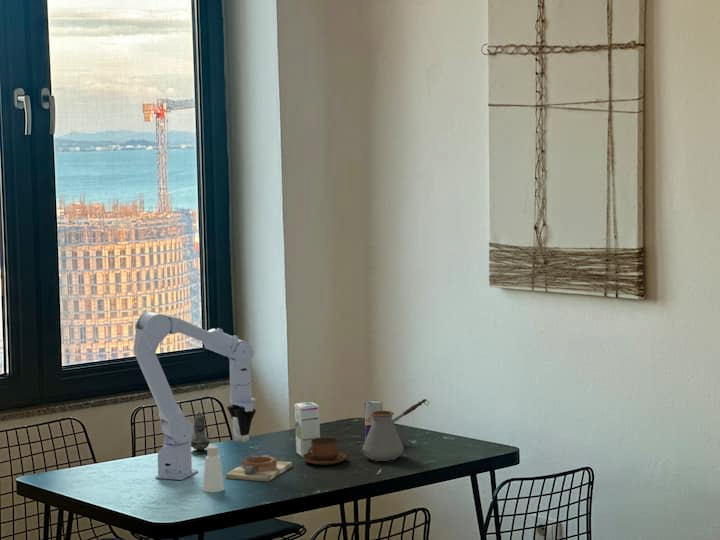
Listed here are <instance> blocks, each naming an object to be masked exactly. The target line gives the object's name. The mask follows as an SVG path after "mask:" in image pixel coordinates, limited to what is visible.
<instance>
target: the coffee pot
mask: <svg viewBox="0 0 720 540" xmlns="http://www.w3.org/2000/svg"><path fill="white" fill-rule="evenodd" d="M426 402H427V403H428V404H426ZM422 404H425V406H429V405H430V402H429V401H428V400H427V399H426V398H424V399H422V400H421V401H417V403H416V404H414V405H411V406H410V407H408V409H406V410H404V412H403V411H402V413H401V414H399V415H398V416H396V417H394V418H393V416H394V415H395V413H394V412H393V411H391V410H383V411H375V412H372V413H371V415H372V417H373V423H372V425H371V428H370V430H369V433H368V435H367V438H366V440H364V442H363V445H362V452H363V454H364V456H366V458H368V459H369V458H370V459H371V460H370V459H369V460H370V461H372V460H377V461H387V460H393V459H396V458H397V459H398V457H400V456H401V455H402V453H403V451H404V445H403V442H402V440H401V439H400V436H399V434H398V432H397V429H396V427H395V424H394V423H396V422H397V421H398V420H400V419H401V418H403V417H406V416H407V415H408V414H410V413H412V412H413V411H415V410H416V409H417V408H419V407H420V406H422ZM397 459H396V460H397ZM377 461H376V462H377Z"/></svg>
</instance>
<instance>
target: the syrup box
mask: <svg viewBox="0 0 720 540" xmlns="http://www.w3.org/2000/svg"><path fill="white" fill-rule="evenodd" d="M294 422H295V423H294V425H295V427H294V428H295V452H296V454H297V455H299V457H302V458H303V455H305V454H307V453H308V450H309V448H310V447H311V441H312V440H313V439H316V438H321V432H320V431H321V428H320V427H321V426H320V405H318V404H317V403H314V402H312V401H309V402H308V401H305V402H299V403H298V402H297V403H294ZM310 452H312V450H311V451H310Z"/></svg>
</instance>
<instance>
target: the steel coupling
mask: <svg viewBox="0 0 720 540" xmlns="http://www.w3.org/2000/svg"><path fill="white" fill-rule="evenodd" d="M232 441H233V442H247V441H250V434H249V435H241V434H240V430H239V424H238V419H237V417H236V416H233V421H232Z"/></svg>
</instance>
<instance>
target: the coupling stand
mask: <svg viewBox="0 0 720 540" xmlns="http://www.w3.org/2000/svg"><path fill="white" fill-rule="evenodd" d="M241 461H242V462H241V465H239V466H237V467H236V468H235V467H234V469H232V470H230V471H228V472H226V473H225V479H231V480H244V481H256V482H257V481H258V482H270V481H271V480H273V479H274V478H276V477H278V476H280V475H281V474H282V473H284V472H286V471H287V470H289V469H290V468H292V467H293V462H292V461H281V460H280V461H279V460H277V459H276V458H275V457H274V456H270V455H269V454H261V455H254V456H248V457H246V458H244V459H242V460H241Z"/></svg>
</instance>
